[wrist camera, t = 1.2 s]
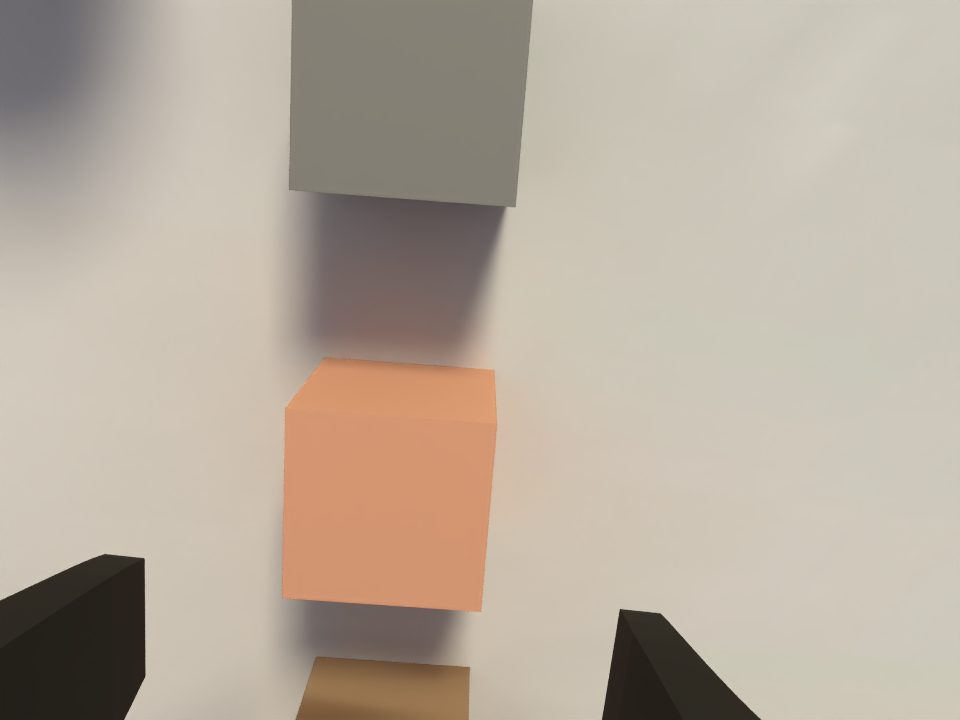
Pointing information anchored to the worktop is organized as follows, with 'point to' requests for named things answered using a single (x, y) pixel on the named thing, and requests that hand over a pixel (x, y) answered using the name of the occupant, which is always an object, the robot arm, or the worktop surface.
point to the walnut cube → (384, 691)
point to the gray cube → (409, 98)
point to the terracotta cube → (389, 484)
